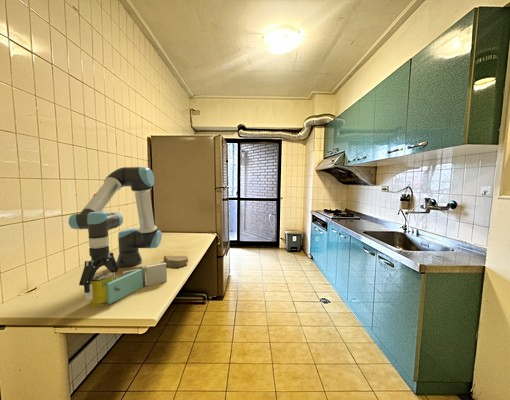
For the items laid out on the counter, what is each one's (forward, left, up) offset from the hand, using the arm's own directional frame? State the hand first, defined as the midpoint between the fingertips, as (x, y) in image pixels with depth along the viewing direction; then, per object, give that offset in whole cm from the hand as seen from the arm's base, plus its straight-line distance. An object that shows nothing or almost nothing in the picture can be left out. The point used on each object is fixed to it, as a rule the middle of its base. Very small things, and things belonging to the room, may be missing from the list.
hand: (101, 292), depth 110 cm
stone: (-31, +44, -5) cm, 55 cm away
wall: (-7, +20, -4) cm, 22 cm away
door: (0, +10, -4) cm, 11 cm away
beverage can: (0, 0, -5) cm, 5 cm away
